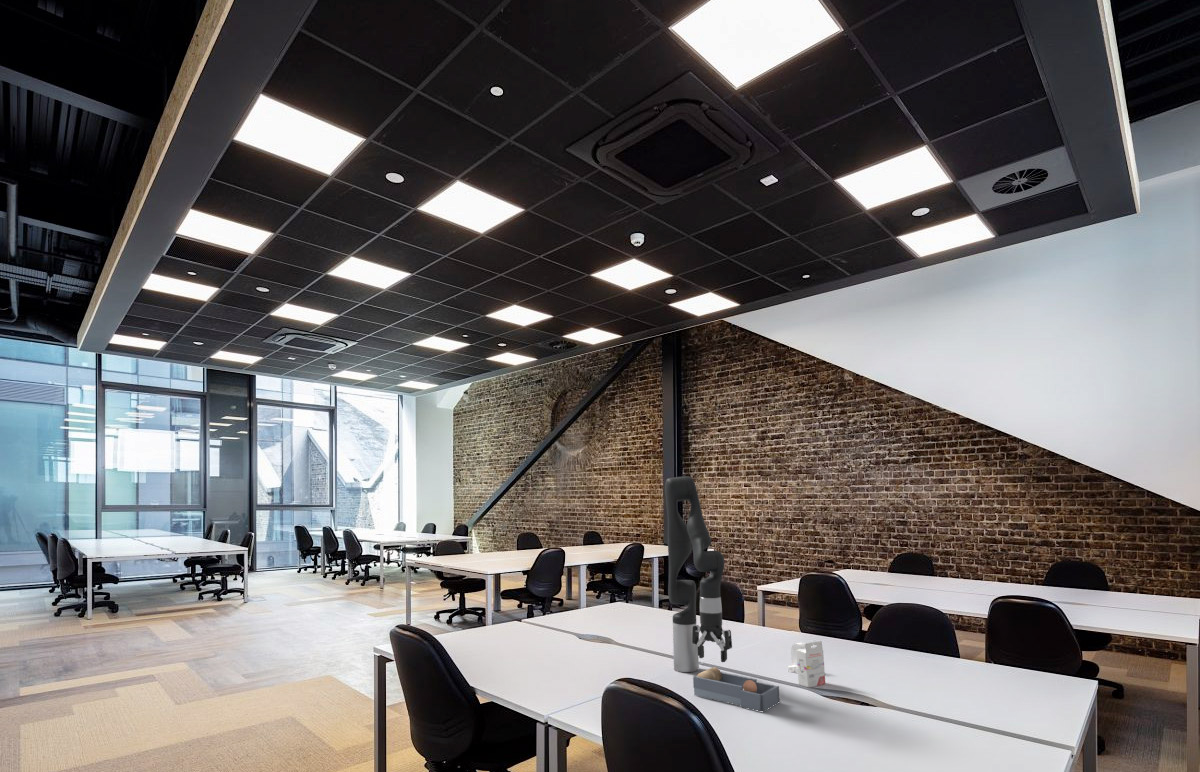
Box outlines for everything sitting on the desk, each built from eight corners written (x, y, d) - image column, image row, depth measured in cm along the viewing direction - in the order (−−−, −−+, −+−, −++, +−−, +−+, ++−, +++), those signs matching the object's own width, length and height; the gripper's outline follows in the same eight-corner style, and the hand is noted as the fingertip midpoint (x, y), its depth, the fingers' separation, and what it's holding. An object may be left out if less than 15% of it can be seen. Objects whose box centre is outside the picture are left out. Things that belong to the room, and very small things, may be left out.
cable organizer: (813, 669, 242) (812, 642, 244) (799, 674, 235) (798, 646, 237) (801, 666, 246) (799, 639, 247) (787, 671, 239) (785, 644, 241)
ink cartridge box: (815, 680, 228) (812, 638, 230) (825, 684, 224) (823, 640, 226) (797, 684, 224) (795, 640, 226) (808, 688, 220) (805, 643, 222)
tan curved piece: (709, 681, 220) (709, 666, 221) (722, 684, 217) (721, 668, 217) (696, 687, 213) (696, 671, 214) (709, 690, 210) (708, 674, 211)
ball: (744, 685, 209) (751, 675, 208) (754, 696, 207) (761, 686, 205) (738, 688, 206) (745, 678, 205) (748, 699, 203) (755, 689, 202)
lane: (711, 687, 221) (710, 669, 222) (779, 702, 205) (778, 683, 206) (692, 696, 212) (692, 677, 213) (763, 712, 196) (762, 692, 197)
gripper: (734, 611, 216) (736, 660, 214) (698, 606, 225) (700, 654, 223) (723, 614, 211) (725, 665, 208) (687, 609, 220) (688, 658, 217)
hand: (712, 659), depth 215 cm, fingers open, 8 cm apart
